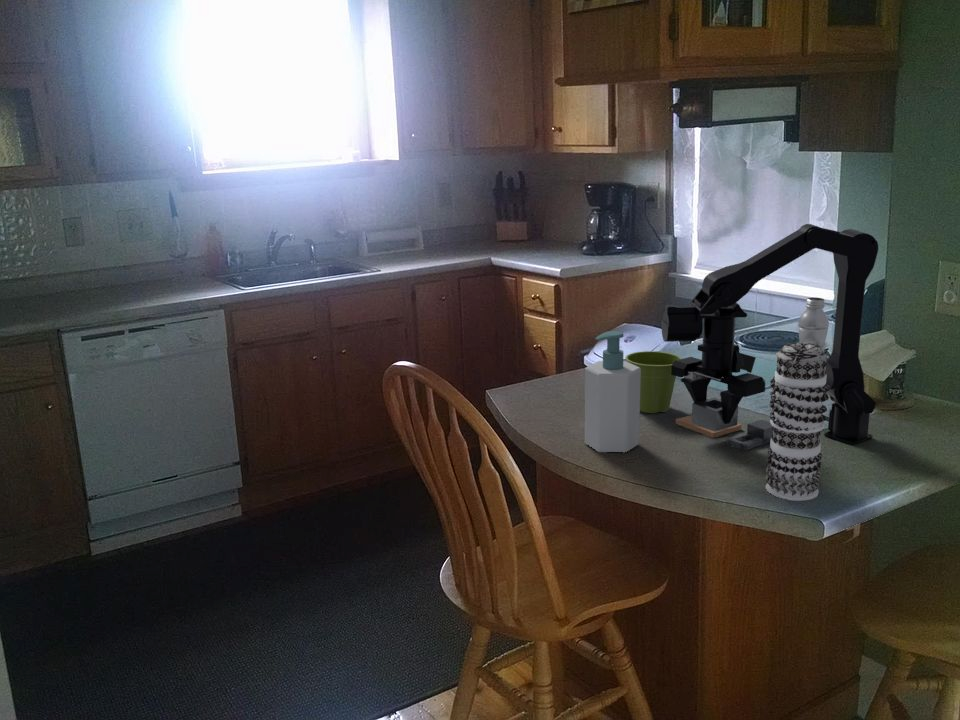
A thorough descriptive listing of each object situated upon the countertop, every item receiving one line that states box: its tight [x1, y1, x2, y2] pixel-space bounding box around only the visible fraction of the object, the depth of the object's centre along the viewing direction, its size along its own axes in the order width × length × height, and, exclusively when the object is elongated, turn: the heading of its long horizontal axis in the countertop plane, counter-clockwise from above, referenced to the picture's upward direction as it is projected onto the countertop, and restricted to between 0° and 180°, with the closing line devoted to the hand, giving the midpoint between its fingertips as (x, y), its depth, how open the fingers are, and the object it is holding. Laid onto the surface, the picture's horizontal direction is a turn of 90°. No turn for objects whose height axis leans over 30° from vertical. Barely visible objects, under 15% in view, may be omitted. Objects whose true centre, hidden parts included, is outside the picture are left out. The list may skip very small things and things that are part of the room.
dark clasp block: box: [726, 419, 773, 452], centre depth 174 cm, size 4×10×3 cm, turn 123°
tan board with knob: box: [675, 414, 742, 439], centre depth 183 cm, size 10×8×6 cm
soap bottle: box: [584, 330, 641, 454], centre depth 172 cm, size 10×9×22 cm
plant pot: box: [625, 350, 683, 414], centre depth 194 cm, size 12×12×11 cm
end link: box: [691, 397, 739, 432], centre depth 175 cm, size 6×6×4 cm
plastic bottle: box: [797, 296, 830, 353], centre depth 206 cm, size 6×7×20 cm
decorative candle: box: [765, 341, 830, 502], centre depth 150 cm, size 9×9×25 cm
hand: (714, 419), depth 175 cm, fingers closed on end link, 6 cm apart
